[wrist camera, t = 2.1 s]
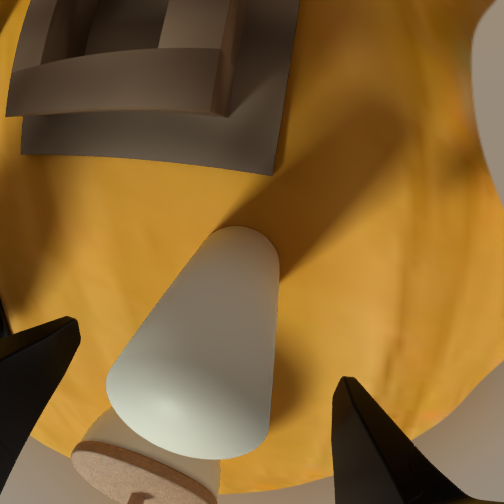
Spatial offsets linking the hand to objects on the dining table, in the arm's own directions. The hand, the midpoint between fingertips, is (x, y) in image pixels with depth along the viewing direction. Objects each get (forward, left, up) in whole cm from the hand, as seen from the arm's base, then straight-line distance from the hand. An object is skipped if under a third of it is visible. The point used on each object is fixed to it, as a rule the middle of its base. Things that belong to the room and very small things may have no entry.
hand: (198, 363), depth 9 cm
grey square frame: (+13, +7, -8) cm, 17 cm away
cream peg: (0, 0, -8) cm, 8 cm away
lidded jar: (-15, +4, -8) cm, 17 cm away
